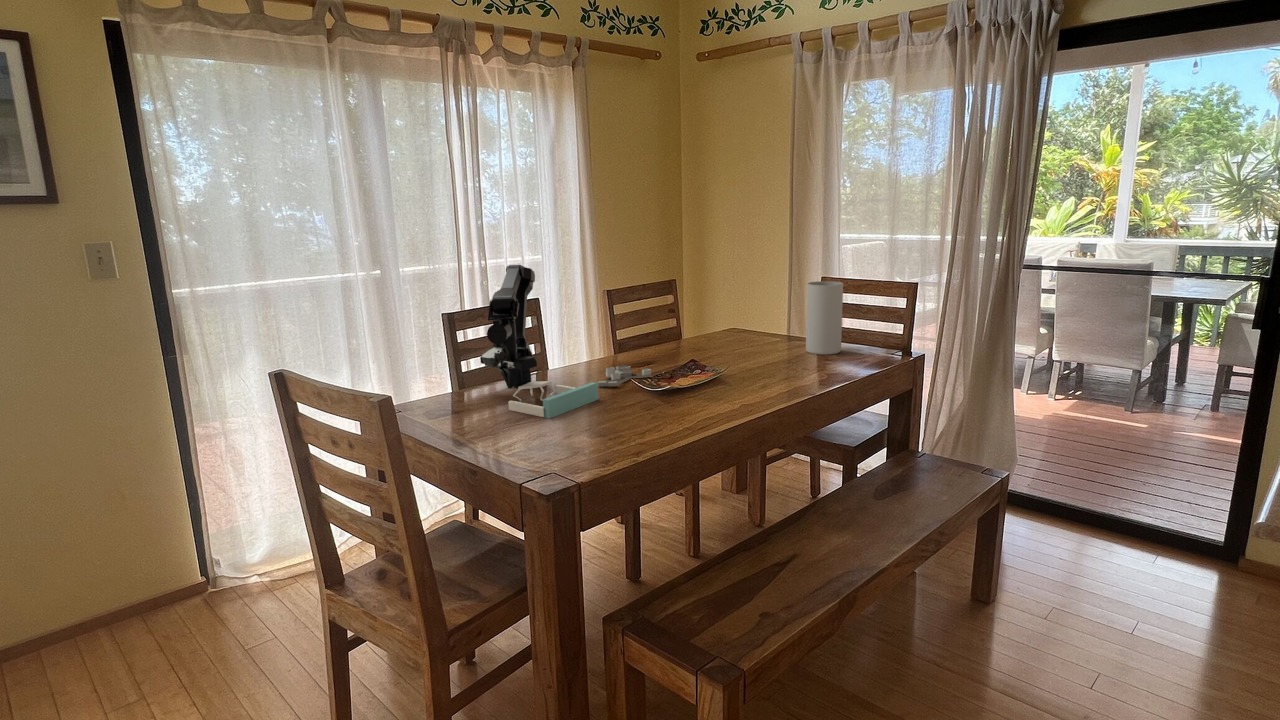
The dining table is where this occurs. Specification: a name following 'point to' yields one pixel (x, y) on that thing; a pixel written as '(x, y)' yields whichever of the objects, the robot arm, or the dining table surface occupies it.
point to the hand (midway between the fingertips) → (510, 388)
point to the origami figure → (535, 385)
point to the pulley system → (622, 375)
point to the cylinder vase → (824, 317)
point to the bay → (559, 401)
